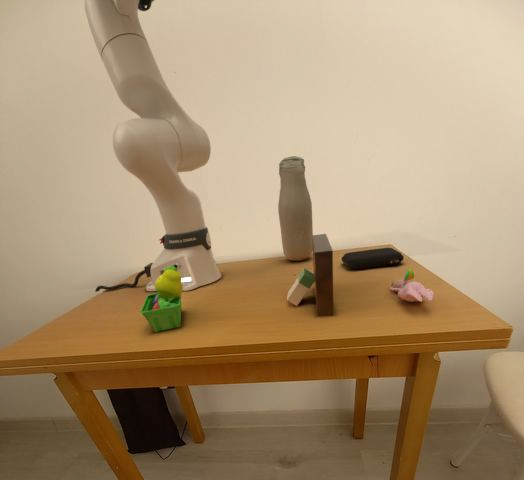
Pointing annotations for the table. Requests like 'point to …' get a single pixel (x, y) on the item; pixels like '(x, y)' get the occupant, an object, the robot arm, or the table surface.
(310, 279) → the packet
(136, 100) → the robot arm
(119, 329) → the table surface
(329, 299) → the walnut board
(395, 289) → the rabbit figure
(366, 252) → the carrying case
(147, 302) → the fruit basket
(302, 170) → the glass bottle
